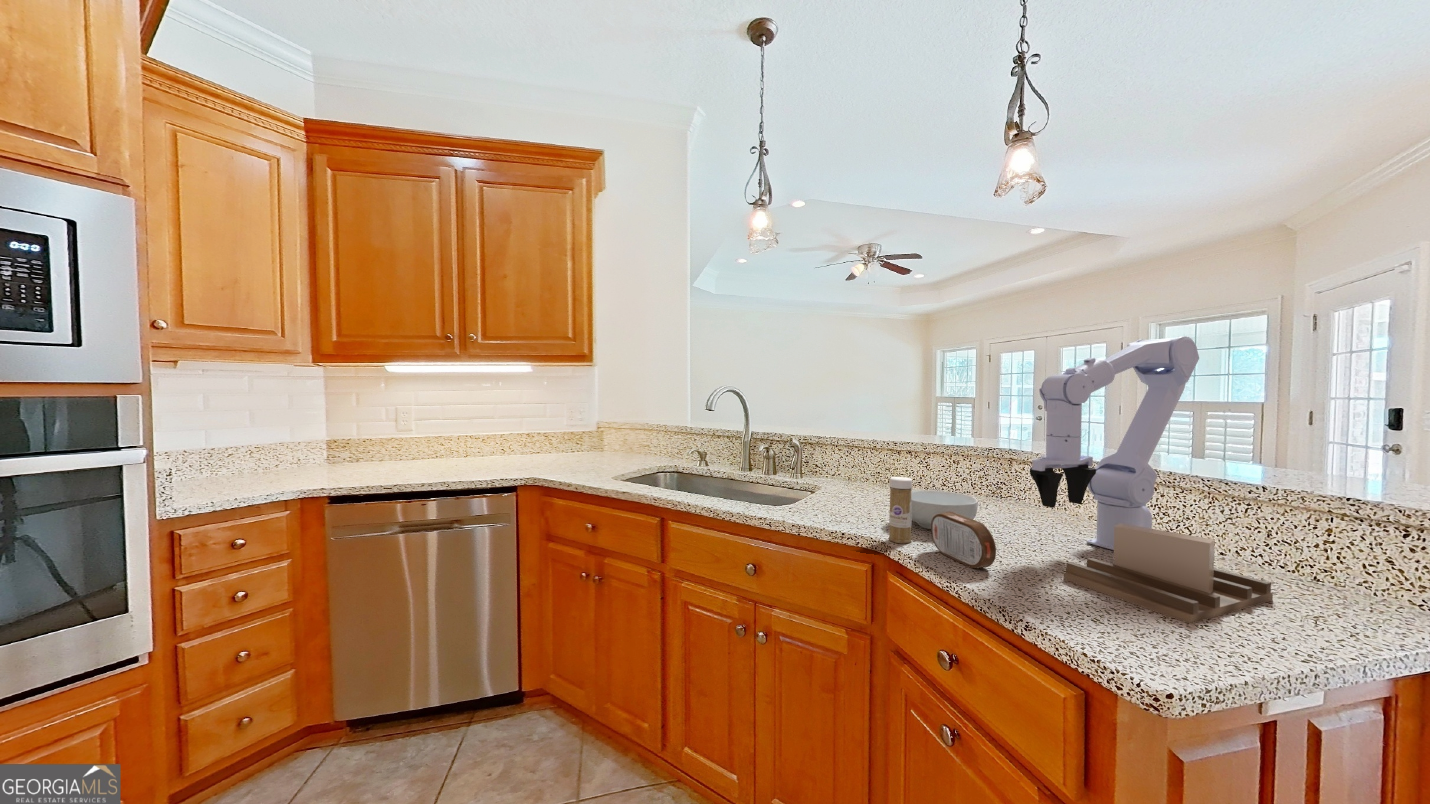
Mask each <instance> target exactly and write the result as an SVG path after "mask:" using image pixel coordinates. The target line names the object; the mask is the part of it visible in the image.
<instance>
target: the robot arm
mask: <svg viewBox="0 0 1430 804" xmlns="http://www.w3.org/2000/svg"><path fill="white" fill-rule="evenodd" d="M1197 347H1198V346H1197V345H1196V343H1195V341H1194V340H1193V339H1192V338H1191V337H1189V336H1187V335H1186V336H1185V335H1184V336H1178V337H1168V338H1158V339H1155V338H1154V339H1138V340H1135V341H1134V342H1133V341H1132V342H1129V343H1127V346H1126V347H1125V348H1123V349H1121V350H1119V351H1117V352H1116V353H1114V354H1111V356H1109V357H1107V358H1105V359H1102V358H1095V357H1087V358H1085V359H1084V360H1083V363H1081V364H1079V365H1077V366H1075V367H1068V368H1067V369H1065V372H1063V373H1062V374H1051V375H1049V376H1048V377H1047V378H1045V379H1044V380H1043V382H1042V384H1041V385H1040V386H1041V388H1039V390H1038V391H1039V395H1040V398H1041V400H1042V401H1043V409H1044V410H1045V412H1046V426H1045V427H1046V430H1045V432H1046V437H1045V439H1046V442H1045V455H1041V457H1040V458H1036V459H1032V460H1031V468H1029V475H1030V476H1031V478H1032V479H1033V481H1034V483H1035V485H1036V487H1037V490H1038V494H1039V498H1040V501H1041V505H1042V506H1043V507H1046V508H1052V509H1054V508H1055V507H1056V505H1057V504H1056V503H1057V500H1058V499H1057V498H1058V490H1059V485H1060V483H1061V480H1062V478H1063V477H1065V480H1066V487H1067V499H1068V502H1069V503H1072V504H1078V505H1082V503H1083V500H1084V497H1085V494H1086V490H1087V489H1088V490H1089V492H1090V493H1091V494H1092V495H1093V500H1094V501H1096V504H1097V506H1096V512H1097V513H1096V538H1093V539H1092V538H1091V539H1086V541H1085V543H1087V544H1090V545H1093V546H1097V547H1101V548H1104V549H1108V550H1111V551H1114V526H1116V525H1118V524H1120V523H1122V524H1128V525H1133V526H1139V527H1145V528H1150V529H1153V515H1152V512H1151V510H1150V509H1149V508H1148V506H1147V504H1148V503H1149V502H1150V501H1151V500H1152V498H1153V496H1154V493H1155V484H1156V481H1157V479H1158V474H1157V472H1156V471H1155V470H1154V468H1153V467H1152V466H1151V465H1150V464H1149V462H1150V461H1151V458H1152V457H1153V454H1154V452H1155V450H1156V448H1157V446H1158V443H1159V441H1160V439H1161V438H1162V435H1163V434H1164V431H1165V429H1166V428H1167V425H1168V424H1169V421H1170V419H1171V417H1172V415H1173V413H1174V411H1175V409H1176V407H1177V405H1178V403H1179V401H1180V399H1181V396H1182V394H1184V390H1185V388H1186V387H1185V386H1186V384H1187V383H1188V382H1189V380H1190V378H1191V377H1192V374H1193V372H1194V370H1195V369H1196V366H1197V364H1198V362H1199V361H1200V355H1199V352H1198V348H1197ZM1131 369H1133V371H1134V372H1135V374H1136V375H1137V378H1138V379H1139V380H1140V382H1141V383H1143V384H1145V385H1146V386H1147V391H1146V393H1145V394H1144V396H1143V398H1142V400H1141V402H1140V405H1139V406H1138V409H1137V411H1136V413H1134V417H1133V418H1132V421H1130V424H1129V426H1128V429H1127V431H1126V432H1125V434H1124V437H1122V439H1121V442H1120V445H1119V446H1118V448H1117V450H1116V452H1115V453H1112V454H1110V455H1108V456H1106V457H1104V458H1102V459H1100V461H1099V462H1098V463H1097V466H1096V467H1095V468H1094V467H1093V462H1094V460H1093V459H1094V458H1093V456H1090V455H1089V456H1088V455H1082V418H1083V417H1082V415H1083V414H1082V411H1083V409H1082V408H1083V406H1082V405H1083V404H1085V403H1086V402H1087V401H1088V400H1089V398H1090V395H1091V394H1092V393H1094V392H1096V391H1098V390H1101V389H1102V388H1104V387H1106V386H1109V385H1110V384H1111V383H1113V382H1114V379H1115V376H1116V375H1118V374H1120V373H1122V372H1125V371H1127V370H1131ZM1057 469H1061V470H1062V471H1063V473H1061V472H1056V471H1055V470H1057Z"/></svg>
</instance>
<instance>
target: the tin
mask: <svg viewBox="0 0 1430 804" xmlns="http://www.w3.org/2000/svg"><path fill="white" fill-rule="evenodd" d="M930 532H931V539H932V542H933V544H934V546H935V548H936V549H937V550H938V552H940V553H941V554H942V555H943V556H945V557H948V558H950V559H952V560H954V561H956V562H958V563H960V564H962V565H964V566H965V567H968V568H971V569H980V568H981V569H982V568H988V567H990V566H992V565H993V564H994V563H995V561H996V557H997V547H996V542H995V540H994V537H993V535H992V533H991V531H990V530H989V529H988V527H987V526H986V525H985V524H983V523H982V522H980V521H978V520H975V519H970V518H967V517H965V516H962V515H959V514H957V513H954V512H951V511H949V512H945V513H940V514H937V515H935V516H934V517H933V519H932V521H931V529H930Z"/></svg>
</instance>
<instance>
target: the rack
mask: <svg viewBox="0 0 1430 804" xmlns="http://www.w3.org/2000/svg"><path fill="white" fill-rule="evenodd" d="M1065 568H1066V570H1065V571H1063V580H1065V581H1067V582H1070V583H1073V584H1076V585H1078V586H1082V587H1085V588H1087V589H1090V590H1093V591H1096V592H1098V593H1101V594H1104V595H1107V596H1109V597H1113V598H1115V599H1118V600H1122V601H1125V602H1127V603H1130V604H1133V605H1136V606H1138V607H1141V608H1144V609H1146V610H1150V611H1153V612H1155V613H1158V614H1161V615H1164V616H1167V617H1169V618H1173V619H1176V620H1178V621H1180V622H1184V623H1187V624H1190V625H1191V624H1196V623H1199V622H1202V621H1205V620H1208V619H1212V618H1216V617H1219V616H1223V615H1226V614H1230V613H1233V612H1236V611H1240V610H1243V609H1248V608H1250V607H1254V606H1256V605H1260V604H1264V603H1268V602H1271V601H1273V599H1274V597H1273V595H1274V593H1273V592H1272V591H1271V590H1272V582H1269V581H1266V580H1263V579H1262V580H1261V579H1258V578H1254V577H1251V576H1246V575H1243V574H1238V573H1234V572H1231V571H1227V570H1223V569H1220V568H1217V567H1214V579H1213V591H1212V592H1211V593H1208V592H1204V591H1201V590H1197V589H1194V588H1191V587H1187V586H1184V585H1181V584H1177V583H1174V582H1171V581H1167V580H1164V579H1161V578H1157V577H1154V576H1151V575H1147V574H1144V573H1141V572H1137V571H1134V570H1130V569H1127V568H1124V567H1120V566H1117V565H1114V561H1113V562H1107V561H1103V560H1100V559H1097V558H1093V557H1089V558H1086V566H1085V565H1083V564H1080V563H1076V562H1074V561H1067V562H1066V565H1065Z"/></svg>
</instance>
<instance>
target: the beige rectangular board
mask: <svg viewBox="0 0 1430 804" xmlns="http://www.w3.org/2000/svg"><path fill="white" fill-rule="evenodd" d="M1215 541H1216V540H1215V539H1213V538H1209V537H1208V538H1207V537H1200V536H1197V535H1190V534H1184V533H1178V532H1172V531H1169V530H1167V531H1166V530H1163V529H1154V528H1152V529H1150V528H1145V527H1139V526H1133V525H1128V524H1122V523H1120V524H1118V525H1116V526H1114V550H1113V562H1114V565H1117V566H1120V567H1124V568H1127V569H1130V570H1134V571H1137V572H1141V573H1144V574H1147V575H1151V576H1154V577H1157V578H1161V579H1164V580H1167V581H1171V582H1174V583H1177V584H1181V585H1184V586H1187V587H1191V588H1194V589H1197V590H1201V591H1204V592H1208V593H1211V592H1212V591H1213V579H1214V568H1215V543H1216V542H1215Z"/></svg>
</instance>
